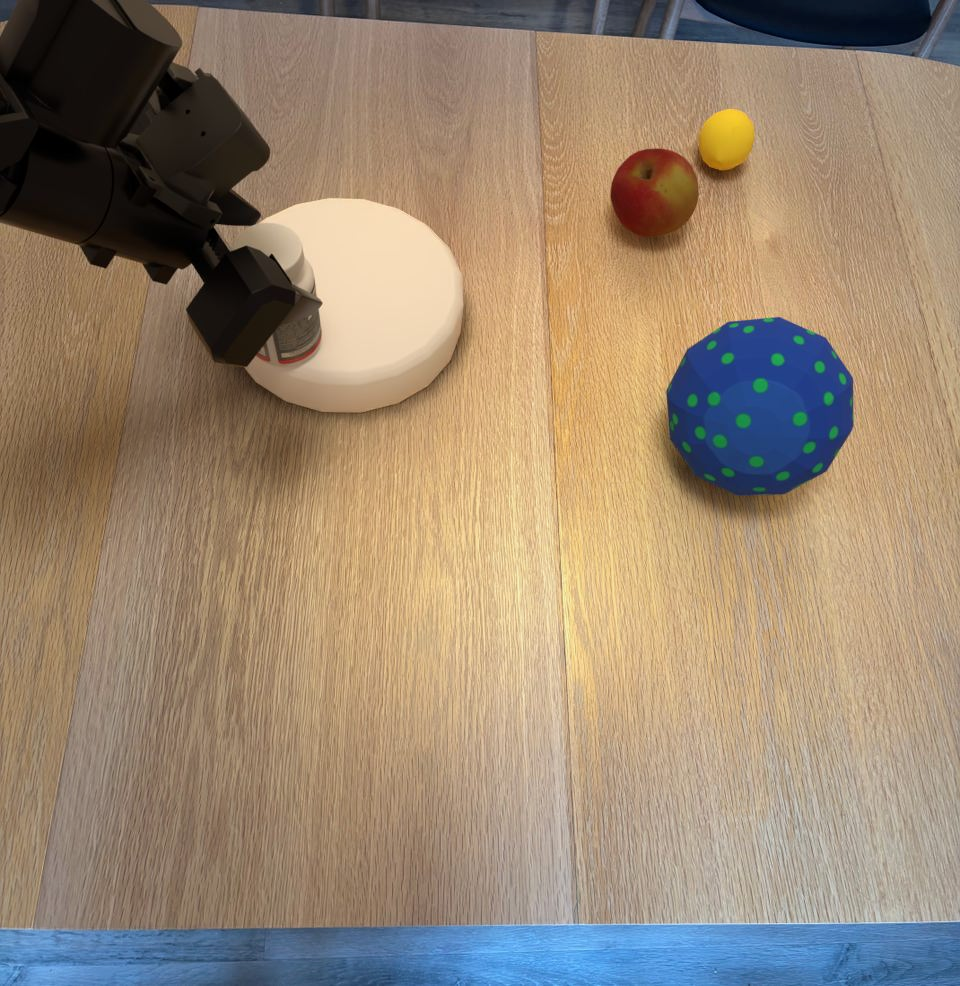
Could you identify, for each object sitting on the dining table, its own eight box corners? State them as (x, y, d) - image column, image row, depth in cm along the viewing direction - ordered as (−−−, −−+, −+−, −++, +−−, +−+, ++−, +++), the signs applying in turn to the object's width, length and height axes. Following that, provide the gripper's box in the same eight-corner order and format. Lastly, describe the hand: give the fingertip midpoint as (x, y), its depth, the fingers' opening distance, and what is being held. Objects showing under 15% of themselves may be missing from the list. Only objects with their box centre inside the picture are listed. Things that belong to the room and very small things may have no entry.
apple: (610, 188, 85) (630, 119, 78) (690, 209, 84) (717, 142, 77) (594, 242, 81) (613, 174, 74) (677, 264, 81) (705, 199, 73)
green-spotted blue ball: (870, 315, 69) (890, 350, 56) (824, 477, 74) (833, 545, 61) (693, 288, 73) (673, 315, 59) (662, 445, 78) (637, 501, 65)
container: (199, 393, 69) (186, 358, 65) (258, 215, 79) (251, 175, 75) (444, 430, 70) (447, 398, 66) (474, 249, 79) (478, 210, 75)
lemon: (735, 191, 86) (755, 147, 81) (684, 174, 86) (701, 129, 82) (749, 147, 89) (769, 102, 84) (699, 131, 90) (716, 86, 85)
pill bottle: (327, 314, 68) (317, 221, 59) (316, 373, 66) (304, 284, 57) (254, 307, 68) (233, 212, 59) (240, 365, 65) (216, 275, 57)
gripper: (237, 183, 40) (429, 264, 54) (86, -34, 47) (290, 86, 60) (121, 351, 45) (324, 388, 58) (-2, 131, 51) (206, 209, 65)
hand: (286, 261), depth 60 cm, fingers open, 9 cm apart
